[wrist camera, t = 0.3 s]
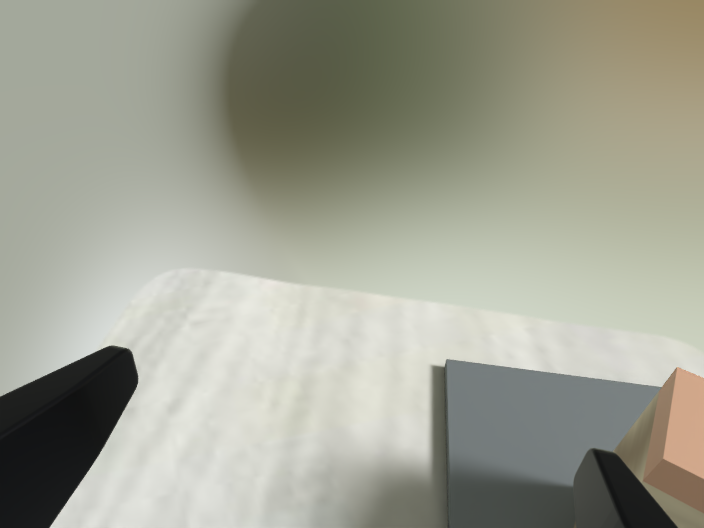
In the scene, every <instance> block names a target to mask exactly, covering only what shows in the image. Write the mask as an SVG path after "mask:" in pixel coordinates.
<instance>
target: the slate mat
mask: <svg viewBox="0 0 704 528" xmlns="http://www.w3.org/2000/svg"><path fill="white" fill-rule="evenodd" d="M661 388H662V387H656V386H648V385H640V384H633V383H625V382H617V381H610V380H602V379H594V378H587V377H579V376H571V375H564V374H556V373H548V372H541V371H533V370H526V369H518V368H510V367H503V366H495V365H487V364H480V363H472V362H464V361H457V360H449V359H447V360H446V364H445V402H446V445H447V487H448V528H574V525H575V521H576V520H575V507H574V493H573V481H574V476H575V473H576V471H577V469H578V468H579V466H580V464H581V462H582V460H583V458H584V456H585V454H586V452H587V451H588V450H589V449H590V448H598V449H603V450H608V451H612V452H613V451H614V449H615V448H616V447H617V445H618V444H619V443H620V442H621V440H622V439H623V438H624V436H625V435H626V434H627V432H628V431H629V430H630V428H631V427H632V426H633V424H634V423H635V422H636V420H637V419H638V418H639V417H640V415H641V414H642V413H643V411H644V410H645V409H646V407H647V406H648V405H649V403H650V402H651V401H652V399H653V398H654V397H655V396H656V394H657V393H658V392H659V390H660V389H661Z"/></svg>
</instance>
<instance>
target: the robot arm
mask: <svg viewBox="0 0 704 528" xmlns="http://www.w3.org/2000/svg"><path fill="white" fill-rule="evenodd" d="M137 384H138V373H137V369H136V365H135V361H134V357H133V354H132V352H131V351H130V350H129V349H127V348H123V347H118V346H108V347H105V348H103V349H101V350H99V351H97V352H95V353H92V354H90V355H88V356H86V357H84V358H82V359H80V360H78V361H75V362H74V363H71V364H69V365H67V366H65V367H63V368H61V369H58V370H56V371H54V372H52V373H50V374H48V375H45V376H43V377H41V378H39V379H37V380H35V381H33V382H31V383H28V384H26V385H24V386H22V387H20V388H18V389H16V390H13V391H11V392H9V393H7V394H5V395H3V396H1V397H0V528H50V526H51V525H52V523H53V522H54V520H55V519H56V517H57V516H58V514H59V513H60V512H61V510H62V509H63V507H64V506H65V504H66V503H67V501H68V500H69V498H70V497H71V495H72V494H73V493H74V491H75V490H76V488H77V487H78V485H79V484H80V482H81V481H82V479H83V478H84V477H85V475H86V474H87V472H88V471H89V469H90V468H91V466H92V465H93V463H94V462H95V460H96V459H97V457H98V456H99V454H100V452H101V451H102V449H103V447H104V446H105V444H106V442H107V440H108V438H109V437H110V435H111V433H112V431H113V429H114V428H115V426H116V424H117V422H118V420H119V419H120V417H121V415H122V413H123V411H124V410H125V408H126V406H127V404H128V402H129V400H130V399H131V397H132V395H133V393H134V391H135V390H136V387H137ZM573 493H574V507H575V520H576V528H678V527H677V525H676V524H675V523H674V522H673V520H672V519H671V518H670V517H669V516H668V514H667V513H666V512H665V511H664V510H663V508H662V507H661V506H660V505H659V504H658V502H657V501H656V500H655V499H654V498H653V496H652V495H651V494H650V493H649V491H648V490H647V489H646V488H645V487H644V485H643V484H642V483H641V482H640V481H639V479H638V478H637V477H636V476H635V475H634V473H633V472H632V471H631V470H630V469H629V467H628V466H627V465H626V464H625V462H624V461H623V460H622V459H621V458H620V457H619V456H618V455H617V454H616V453H614V452H612V451H608V450H603V449H598V448H590V449H589V450H588V451H587V452H586V454H585V456H584V458H583V460H582V462H581V464H580V466H579V468H578V469H577V471H576V473H575V476H574V481H573Z"/></svg>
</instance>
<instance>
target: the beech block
mask: <svg viewBox="0 0 704 528" xmlns="http://www.w3.org/2000/svg"><path fill="white" fill-rule="evenodd" d="M613 452H614V453H616V454H617V455H618V456H619V457H620V458H621V459H622V460H623V461H624V462H625V464H626V465H627V466H628V467H629V469H630V470H631V471H632V472H633V473H634V475H635V476H636V477H637V478H638V479H639V481H640V482H641V483H642V484H643V485H644V487H645V488H646V489H647V490H648V491H649V493H650V494H651V495H652V496H653V498H654V499H655V500H656V501H657V502H658V504H659V505H660V506H661V507H662V508H663V510H664V511H665V512H666V513H667V514H668V516H669V517H670V518H671V519H672V520H673V522H674V523H675V524H676V525H677V527H678V528H704V378H702V377H700V376H697V375H695V374H693V373H690V372H688V371H686V370H683V369H681V368H678V367H677V368H676V369H675V371H674V372H673V373H672V374H671V376H670V377H669V378H668V380H667V381H666V382H665V384H664V385H663V386H662V388H661V389H660V390H659V392H658V393H657V394H656V396H655V397H654V398H653V399H652V401H651V402H650V403H649V405H648V406H647V407H646V409H645V410H644V411H643V413H642V414H641V415H640V417H639V418H638V419H637V420H636V422H635V423H634V424H633V426H632V427H631V428H630V430H629V431H628V432H627V434H626V435H625V436H624V438H623V439H622V440H621V442H620V443H619V444H618V445H617V447H616V448H615V449H614V451H613ZM574 528H576V521H575V525H574Z"/></svg>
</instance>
